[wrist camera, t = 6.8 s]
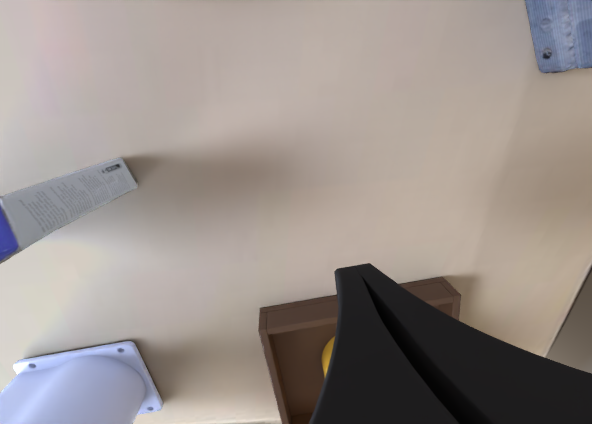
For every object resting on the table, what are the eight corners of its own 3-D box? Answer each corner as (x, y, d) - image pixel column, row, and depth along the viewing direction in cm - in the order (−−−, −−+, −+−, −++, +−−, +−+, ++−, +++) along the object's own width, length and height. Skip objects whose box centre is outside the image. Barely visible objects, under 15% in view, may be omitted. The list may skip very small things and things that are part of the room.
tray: (285, 414, 27) (286, 442, 25) (259, 308, 22) (258, 330, 20) (436, 387, 28) (450, 412, 25) (442, 276, 23) (461, 294, 21)
